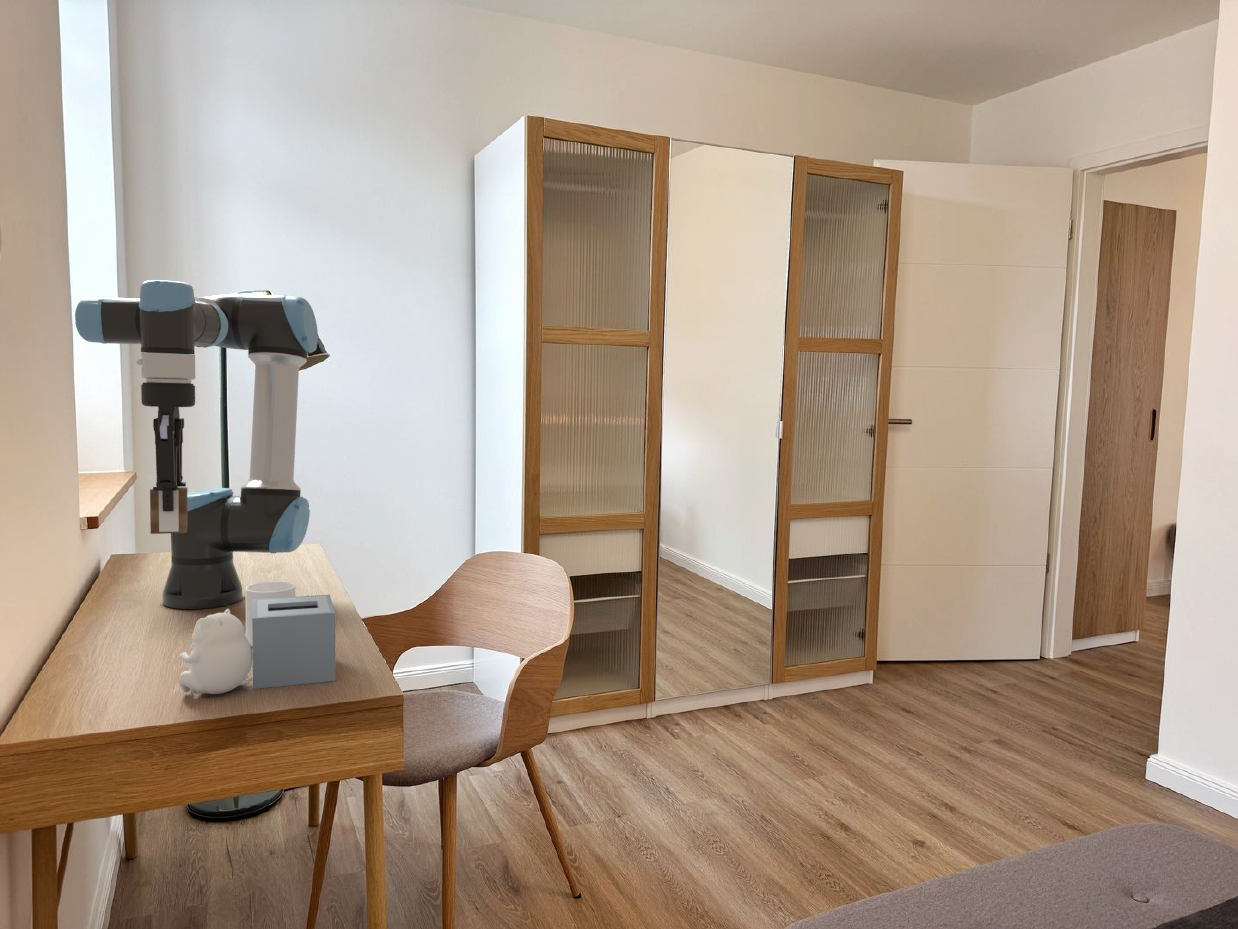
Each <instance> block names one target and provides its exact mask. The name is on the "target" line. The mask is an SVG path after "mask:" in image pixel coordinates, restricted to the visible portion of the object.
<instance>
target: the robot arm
mask: <svg viewBox="0 0 1238 929" xmlns="http://www.w3.org/2000/svg"><path fill="white" fill-rule="evenodd" d="M139 289H140V290H139V298H127V297H126V298H125V297H104V296H99V297H95V296H93V297H92V296H91V297H85V298H83V299H81V300H80V301H79V302H78V304H77V305H76V308H75V313H74V319H75V320H74V321H75V322H74V323H75V328H76V330H77V332H78V334H79V336H80V337H81V338H82V339H83V340H84V341H87V342H88V343H89V342H90V343H99V344H104V345H105V344H118V345H119V344H120V345H121V344H122V345H123V344H124V345H140V354H141V355H140V357H141V358H137V360H136V364H137V365H138V366H141V378H143V379H145V382H142V383H141V384H140V392H141V399H140V400H141V404H142V406H145V407H157V409H158V410H157V417H156V418H153V422H152V424H153V425H152V427H153V431H154V445H155V467H156V468H155V469H156V472H155V473H156V483H155V486H153V487H152V488H153V491H159V532H178V531H179V491H178V490H177V488H178V487H186V486H187V482H186V481H183V442H184V433H183V432H184V430H183V429H184V428H185V418H180V417H181V415H180V408H190V407H191V408H193V407H194V406H195V405H196V385H194V383H192V380H195V379H196V354H195V353H196V352H195V347H196V348H205V349H206V348H209V347H210V348H211V347H219V348H223V349H224V348H225V349H233V350H242V351H248V352H247V356H248V359H249V361H251V362H252V363H253V364H254V365H255V370H254V387H253V388H254V389H253V405H252V406H253V407H252V408H253V409H252V426H251V427H252V428H251V442H250V443H251V444H250V445H251V446H250V463H249V464H250V466H249V479H248V481H246V482H245V483H244V484H242V486H241V487H240V488H241V489H240V495H234V491H233V489H232V488H229V487H226V488H225V487H218V488H210V489H200V490H196V491H195V490H194V491H189V492H188V491H187V499H188V531H187V532H186V533H170V553H171V555H170V556H171V565H170V566H171V567H170V569H169V572H168V575H167V577H166V578H167V579H166V581H165V584H164V587H163V589H162V605H163V606H166V607H169V608H172V609H173V608H174V609H179V610H181V609H182V610H183V609H184V610H185V609H186V610H195V609H196V610H198V609H199V610H200V609H210V608H219V607H223V606H227V605H231V604H234V603H237V602H239V601H241V600H242V599H243V585H242V582H241V580H240V578H239V575H238V572H237V568H236V567H235V563H234V553H264V554H265V553H267V554H268V553H270V554H278V553H292V552H294V551H296V550H297V549H298V548H299V547H300V546H301V544H303V541H304V540H305V537H306V534H307V531H308V527H309V523H310V516H311V514H310V513H311V510H310V503H309V500H308V499H307V498H306V497H304V496H301V487H300V486H299V485H298V484H297V483H296V482H295V480H294V479H295V477H294V476H295V473H294V472H295V457H296V456H295V455H296V435H297V417H298V416H297V415H298V414H297V413H298V396H299V395H298V393H299V377H300V376H299V375H300V374H299V372H300V369H301V367H302V366H304V365H305V364H306V363H308V362H307V361H308V353H309V354H311V353H313V352H315V351H316V350H317V348H318V347H317V346H318V345H319V344H318V343H319V334H318V325H317V320H316V316H315V312H314V309H313V308H312V306H311V304H310V303H309V301H308V300H306V298H304V297H301V296H294V295H293V296H292V295H286V294H282V295H280V294H276V295H275V294H246V293H245V294H244V293H243V294H242V293H229V294H219V295H211V296H196V297H195V293H194V287H193V286H192V285H191V284H190V283H187V282H184V281H183V282H182V281H174V280H165V279H164V280H163V279H162V280H161V279H159V280H158V279H157V280H156V279H153V280H152V279H150V280H145V281H143V282H142V283H141V285H140V288H139Z"/></svg>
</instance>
